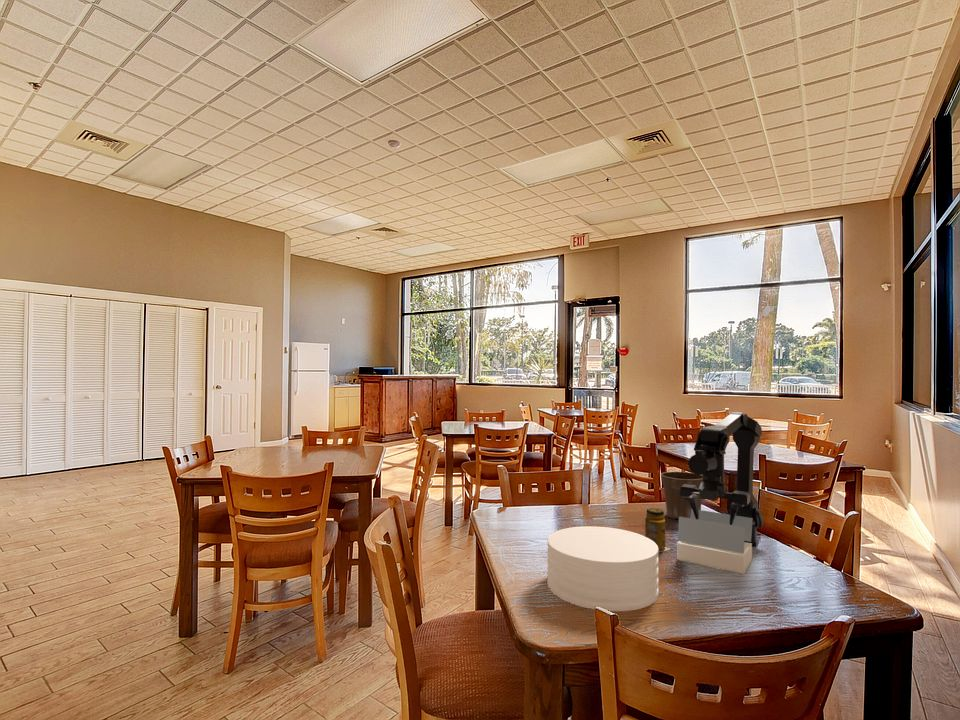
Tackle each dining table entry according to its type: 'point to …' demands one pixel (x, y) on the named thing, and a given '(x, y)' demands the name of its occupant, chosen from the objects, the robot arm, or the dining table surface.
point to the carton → (715, 557)
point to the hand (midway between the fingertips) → (713, 523)
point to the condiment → (656, 528)
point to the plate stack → (603, 568)
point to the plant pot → (674, 502)
